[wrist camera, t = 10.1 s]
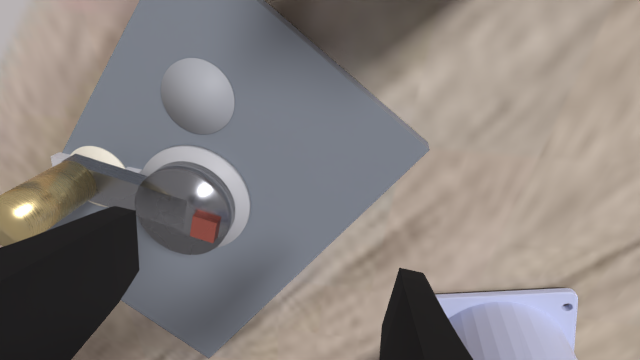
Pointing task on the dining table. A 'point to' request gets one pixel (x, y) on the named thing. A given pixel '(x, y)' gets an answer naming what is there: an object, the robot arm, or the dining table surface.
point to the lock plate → (238, 152)
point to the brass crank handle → (125, 201)
